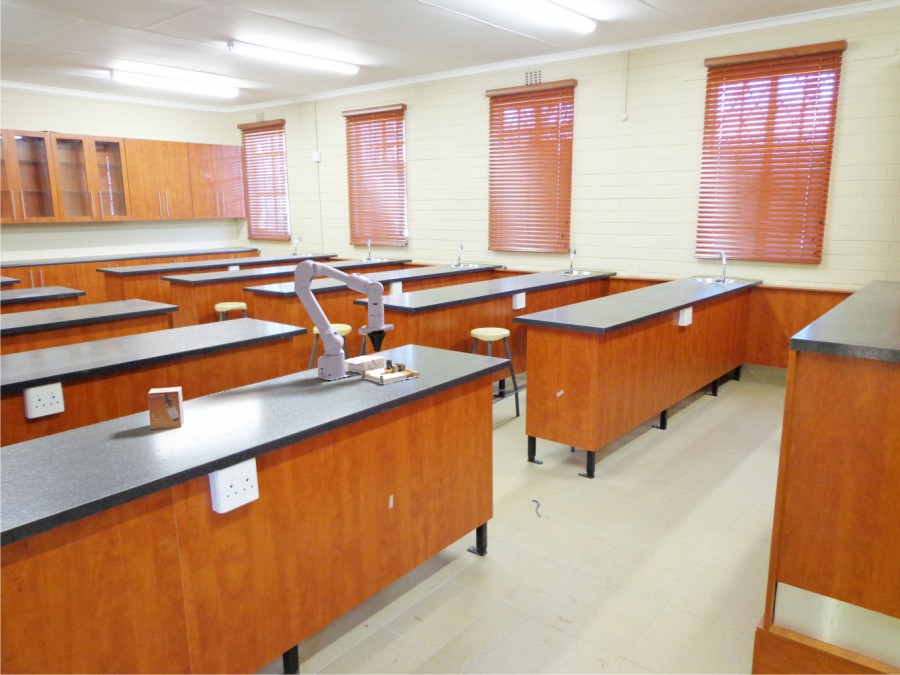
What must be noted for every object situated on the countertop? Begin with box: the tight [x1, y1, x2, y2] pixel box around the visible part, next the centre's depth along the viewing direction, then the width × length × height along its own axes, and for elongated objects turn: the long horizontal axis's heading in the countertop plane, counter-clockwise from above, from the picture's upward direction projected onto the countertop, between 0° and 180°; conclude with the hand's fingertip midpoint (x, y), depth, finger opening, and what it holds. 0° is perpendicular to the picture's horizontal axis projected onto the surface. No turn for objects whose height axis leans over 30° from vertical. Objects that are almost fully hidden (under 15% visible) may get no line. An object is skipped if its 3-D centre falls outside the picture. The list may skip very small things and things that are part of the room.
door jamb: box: [394, 362, 420, 378], centre depth 224 cm, size 5×14×4 cm, turn 43°
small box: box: [147, 386, 185, 430], centre depth 168 cm, size 8×6×10 cm
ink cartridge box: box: [345, 354, 385, 373], centre depth 231 cm, size 9×5×15 cm
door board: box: [360, 364, 407, 384], centre depth 218 cm, size 11×14×4 cm
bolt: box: [384, 359, 401, 373], centre depth 222 cm, size 8×2×4 cm, turn 133°
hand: (377, 351), depth 222 cm, fingers closed
